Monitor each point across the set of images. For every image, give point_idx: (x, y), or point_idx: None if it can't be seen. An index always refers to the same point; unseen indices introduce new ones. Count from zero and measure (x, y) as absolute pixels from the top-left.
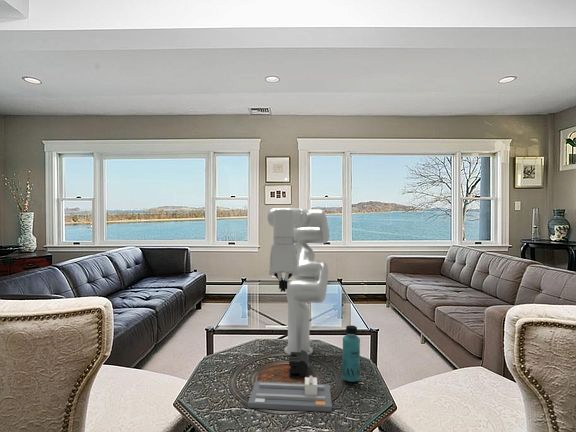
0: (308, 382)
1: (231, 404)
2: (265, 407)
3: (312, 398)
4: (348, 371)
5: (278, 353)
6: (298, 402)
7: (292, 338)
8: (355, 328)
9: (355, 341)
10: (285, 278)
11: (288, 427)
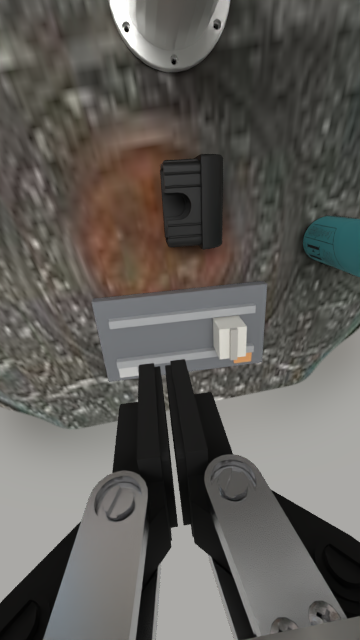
0: (227, 350)
1: (74, 373)
2: None
3: None
4: (326, 265)
5: (90, 36)
6: (202, 361)
7: (151, 10)
8: None
9: None
10: (223, 560)
11: None
